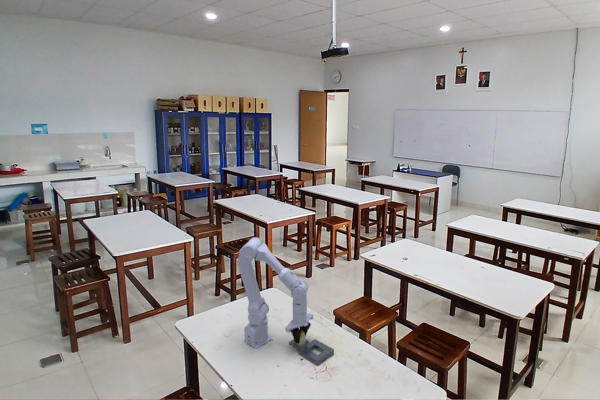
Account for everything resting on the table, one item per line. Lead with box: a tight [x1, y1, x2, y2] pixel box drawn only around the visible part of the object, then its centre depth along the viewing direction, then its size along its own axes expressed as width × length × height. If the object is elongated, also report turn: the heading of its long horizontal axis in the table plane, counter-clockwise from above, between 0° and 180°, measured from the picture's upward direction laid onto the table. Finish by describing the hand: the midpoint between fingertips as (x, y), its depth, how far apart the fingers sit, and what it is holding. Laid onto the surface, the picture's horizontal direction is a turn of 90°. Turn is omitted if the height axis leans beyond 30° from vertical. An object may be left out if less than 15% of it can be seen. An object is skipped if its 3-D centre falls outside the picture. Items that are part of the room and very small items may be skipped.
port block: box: [297, 339, 335, 366], centre depth 152 cm, size 10×10×2 cm
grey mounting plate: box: [288, 338, 311, 351], centre depth 158 cm, size 6×7×1 cm
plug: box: [294, 331, 307, 347], centre depth 158 cm, size 3×4×6 cm
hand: (299, 340), depth 158 cm, fingers closed on plug, 3 cm apart
